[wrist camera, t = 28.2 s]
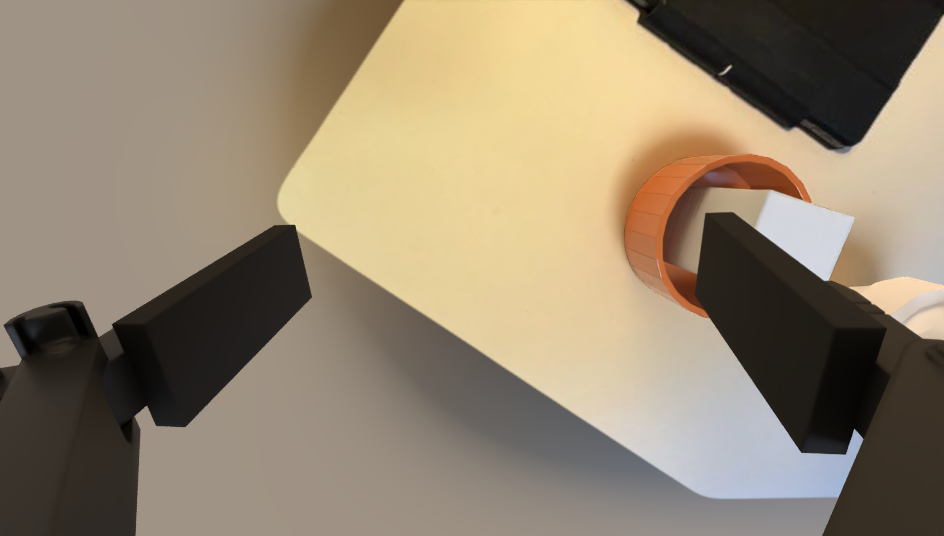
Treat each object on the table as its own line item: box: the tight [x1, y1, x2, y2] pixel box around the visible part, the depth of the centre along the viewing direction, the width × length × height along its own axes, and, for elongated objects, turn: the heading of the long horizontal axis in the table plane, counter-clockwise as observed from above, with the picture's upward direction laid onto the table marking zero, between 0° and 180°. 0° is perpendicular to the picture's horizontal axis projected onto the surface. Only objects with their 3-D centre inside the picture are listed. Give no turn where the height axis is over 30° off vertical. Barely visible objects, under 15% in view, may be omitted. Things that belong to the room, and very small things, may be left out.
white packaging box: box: [663, 187, 855, 281], centre depth 39 cm, size 7×7×13 cm
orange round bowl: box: [624, 154, 811, 318], centre depth 42 cm, size 14×14×6 cm
